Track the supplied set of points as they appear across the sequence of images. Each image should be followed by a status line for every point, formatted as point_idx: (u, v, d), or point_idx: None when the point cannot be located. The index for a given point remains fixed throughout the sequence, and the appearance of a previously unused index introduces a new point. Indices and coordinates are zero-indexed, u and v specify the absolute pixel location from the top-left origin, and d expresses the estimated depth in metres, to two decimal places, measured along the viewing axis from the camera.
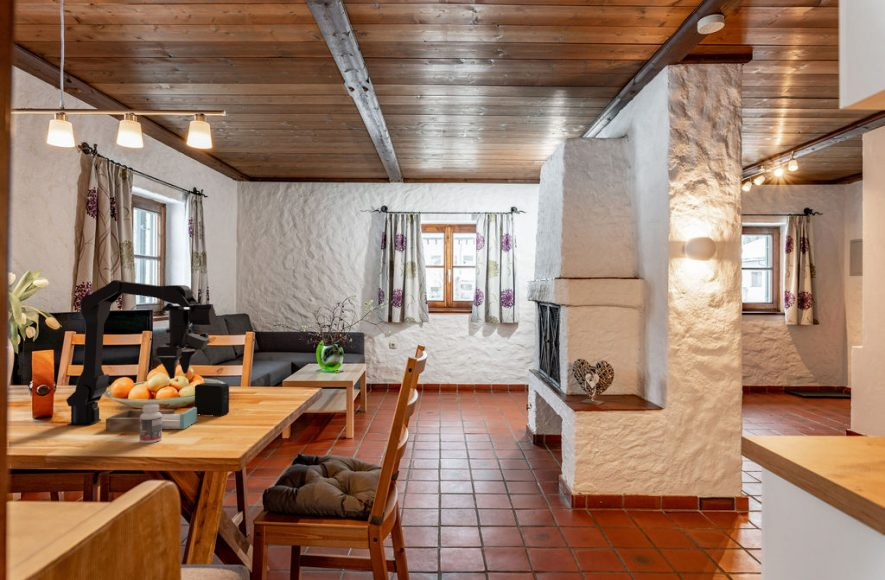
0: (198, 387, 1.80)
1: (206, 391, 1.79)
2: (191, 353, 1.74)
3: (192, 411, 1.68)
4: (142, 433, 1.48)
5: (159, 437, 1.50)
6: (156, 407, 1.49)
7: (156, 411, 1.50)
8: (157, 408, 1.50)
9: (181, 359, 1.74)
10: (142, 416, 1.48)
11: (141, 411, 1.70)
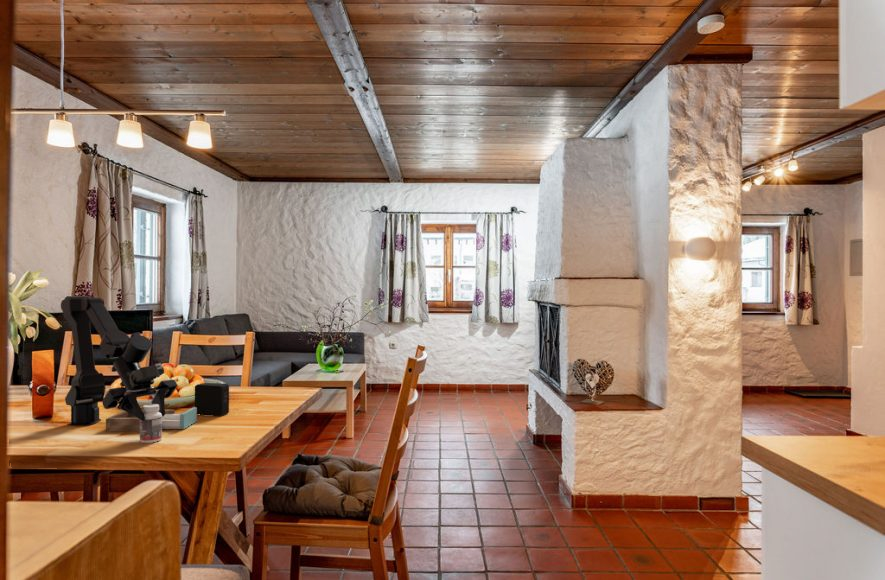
0: (198, 387, 1.80)
1: (206, 391, 1.79)
2: (158, 393, 1.54)
3: (192, 411, 1.68)
4: (142, 432, 1.48)
5: (159, 437, 1.50)
6: (156, 407, 1.49)
7: (156, 411, 1.50)
8: (157, 408, 1.50)
9: None
10: None
11: None
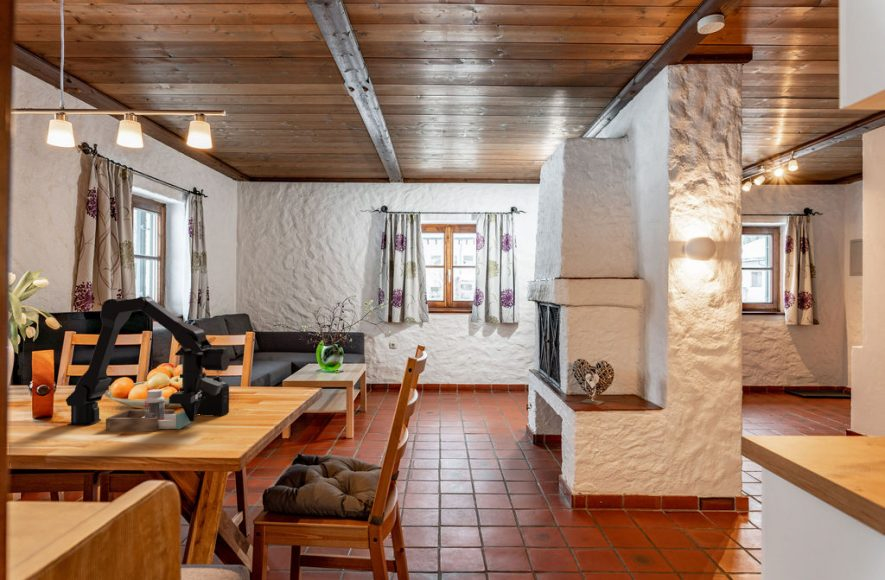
0: None
1: None
2: None
3: None
4: (149, 415, 1.63)
5: (163, 418, 1.66)
6: (161, 391, 1.66)
7: None
8: (161, 392, 1.66)
9: None
10: (149, 400, 1.63)
11: (141, 411, 1.70)
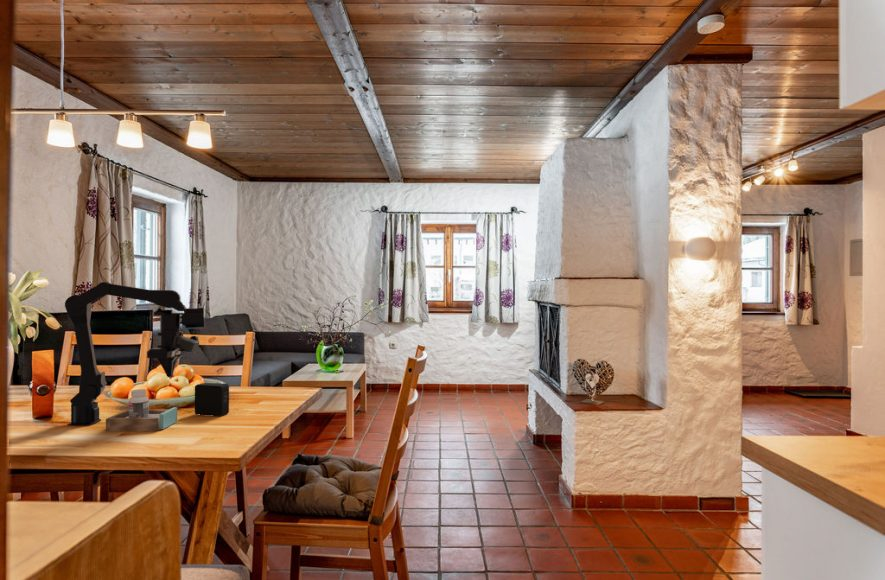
0: (198, 387, 1.80)
1: (206, 391, 1.79)
2: None
3: (172, 411, 1.67)
4: (133, 415, 1.63)
5: None
6: (145, 391, 1.66)
7: None
8: (145, 392, 1.66)
9: None
10: (133, 400, 1.63)
11: None
